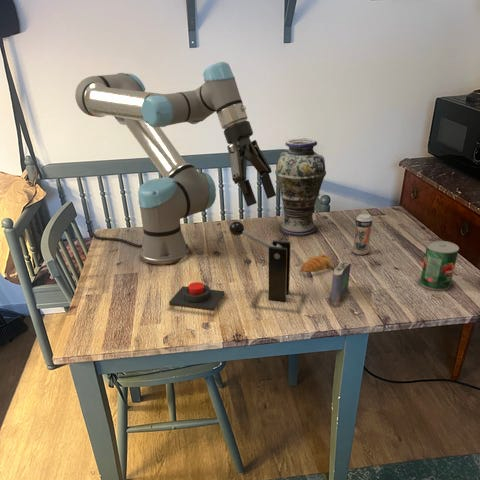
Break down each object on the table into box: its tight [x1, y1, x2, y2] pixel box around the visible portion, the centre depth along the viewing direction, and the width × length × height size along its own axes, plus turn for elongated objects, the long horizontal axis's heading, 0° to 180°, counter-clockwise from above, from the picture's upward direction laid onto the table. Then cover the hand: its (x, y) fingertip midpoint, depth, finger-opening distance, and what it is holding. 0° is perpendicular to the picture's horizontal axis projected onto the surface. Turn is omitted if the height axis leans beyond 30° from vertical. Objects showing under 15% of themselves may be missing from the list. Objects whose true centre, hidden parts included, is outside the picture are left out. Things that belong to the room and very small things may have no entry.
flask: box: [330, 259, 352, 303], centre depth 119 cm, size 9×3×11 cm, turn 151°
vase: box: [274, 138, 327, 237], centre depth 157 cm, size 17×17×30 cm
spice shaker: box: [352, 213, 373, 256], centre depth 143 cm, size 5×5×12 cm
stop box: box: [168, 284, 226, 312], centre depth 121 cm, size 12×9×4 cm
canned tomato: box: [419, 240, 460, 291], centre depth 124 cm, size 8×8×11 cm
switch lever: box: [229, 220, 285, 250], centre depth 114 cm, size 15×4×4 cm, turn 72°
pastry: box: [300, 254, 333, 273], centre depth 136 cm, size 9×7×4 cm
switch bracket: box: [268, 240, 292, 303], centre depth 118 cm, size 12×9×16 cm
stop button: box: [187, 281, 205, 295], centre depth 119 cm, size 4×4×2 cm
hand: (262, 201), depth 130 cm, fingers open, 13 cm apart
